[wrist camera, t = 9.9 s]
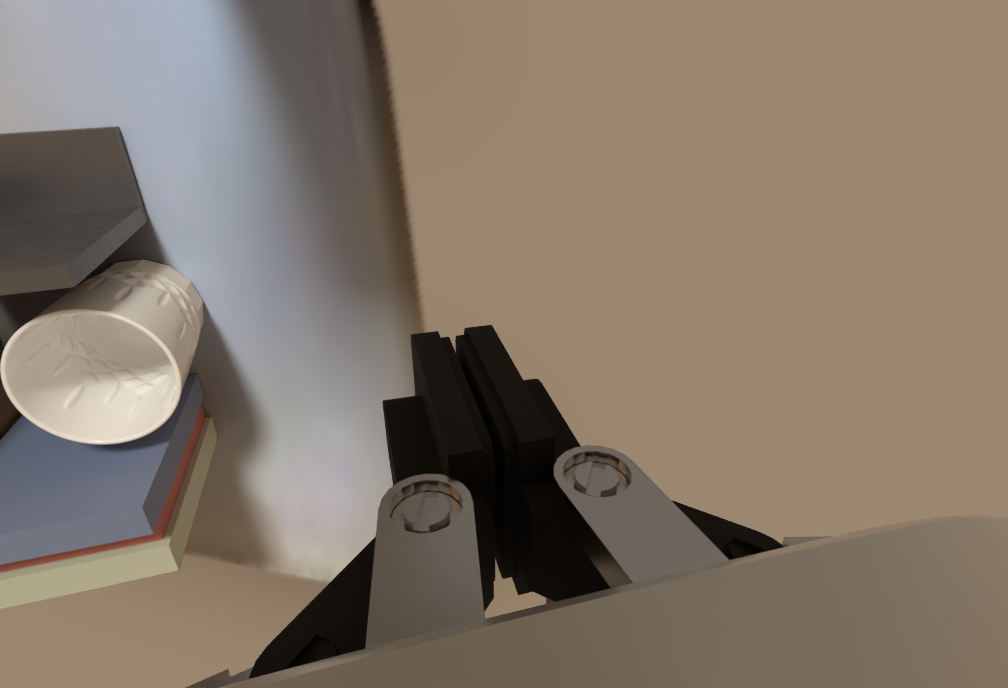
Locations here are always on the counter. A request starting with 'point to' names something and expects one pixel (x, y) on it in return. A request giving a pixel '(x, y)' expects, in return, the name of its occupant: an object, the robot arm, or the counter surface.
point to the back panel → (6, 408)
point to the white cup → (107, 355)
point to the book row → (99, 504)
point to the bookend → (63, 206)
